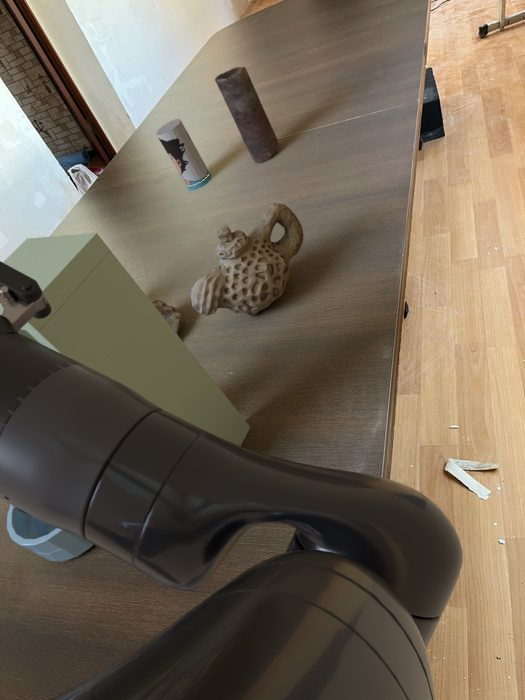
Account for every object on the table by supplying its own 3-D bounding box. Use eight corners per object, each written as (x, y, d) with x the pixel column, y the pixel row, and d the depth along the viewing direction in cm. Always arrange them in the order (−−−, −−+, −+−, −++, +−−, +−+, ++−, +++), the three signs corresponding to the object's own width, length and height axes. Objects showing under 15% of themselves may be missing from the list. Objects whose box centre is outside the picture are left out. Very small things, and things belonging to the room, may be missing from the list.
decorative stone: (180, 292, 84) (148, 367, 77) (194, 308, 87) (164, 381, 80) (139, 296, 89) (105, 368, 81) (153, 311, 92) (122, 381, 84)
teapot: (232, 355, 75) (181, 284, 65) (201, 325, 84) (152, 258, 74) (336, 271, 78) (302, 190, 68) (296, 250, 87) (261, 176, 77)
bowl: (79, 579, 60) (45, 561, 56) (22, 542, 68) (-11, 525, 64) (142, 480, 66) (115, 457, 62) (83, 457, 74) (56, 436, 70)
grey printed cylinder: (202, 172, 129) (171, 118, 119) (216, 174, 124) (185, 118, 114) (183, 188, 127) (151, 135, 117) (197, 191, 122) (164, 135, 112)
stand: (213, 496, 59) (20, 315, 39) (148, 472, 67) (-45, 308, 46) (250, 427, 64) (96, 232, 43) (186, 411, 71) (27, 238, 50)
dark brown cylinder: (251, 155, 123) (213, 75, 110) (277, 141, 121) (242, 58, 108) (255, 167, 117) (216, 83, 104) (283, 152, 116) (247, 66, 103)
